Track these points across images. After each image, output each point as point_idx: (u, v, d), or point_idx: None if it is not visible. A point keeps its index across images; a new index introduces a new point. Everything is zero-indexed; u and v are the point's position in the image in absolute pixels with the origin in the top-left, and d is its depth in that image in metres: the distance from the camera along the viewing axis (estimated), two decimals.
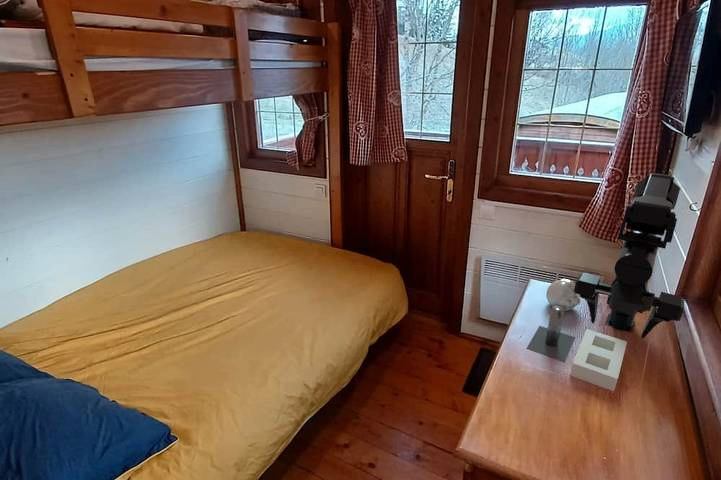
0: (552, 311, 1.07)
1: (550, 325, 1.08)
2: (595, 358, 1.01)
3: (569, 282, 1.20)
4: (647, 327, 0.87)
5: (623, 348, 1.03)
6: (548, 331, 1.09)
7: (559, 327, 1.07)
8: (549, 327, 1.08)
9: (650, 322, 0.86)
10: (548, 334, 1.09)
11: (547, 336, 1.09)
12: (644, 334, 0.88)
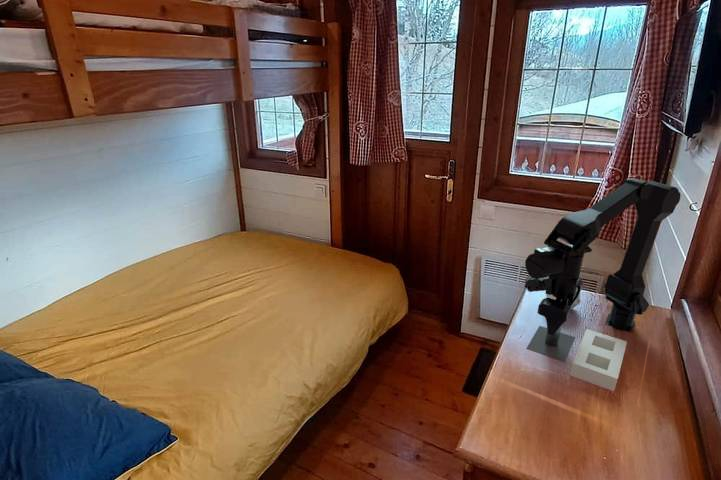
0: None
1: None
2: (595, 358, 1.01)
3: None
4: None
5: (623, 348, 1.03)
6: None
7: None
8: None
9: None
10: (548, 334, 1.09)
11: (547, 336, 1.09)
12: None
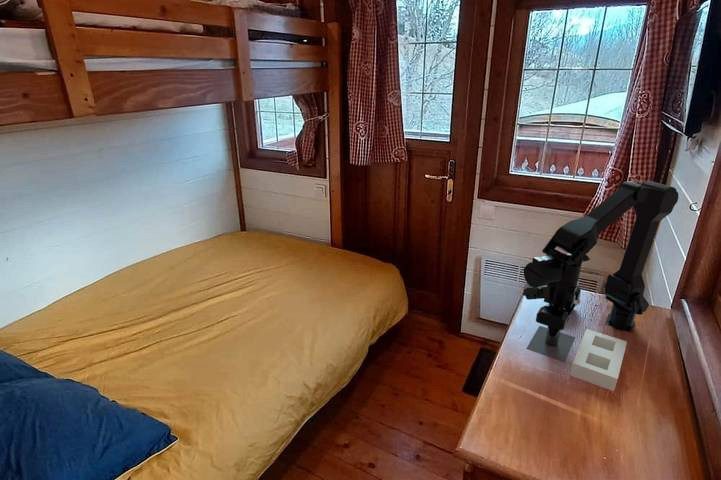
0: None
1: None
2: (595, 358, 1.01)
3: None
4: None
5: (623, 348, 1.03)
6: (548, 331, 1.09)
7: None
8: None
9: None
10: (548, 334, 1.09)
11: (547, 336, 1.09)
12: None
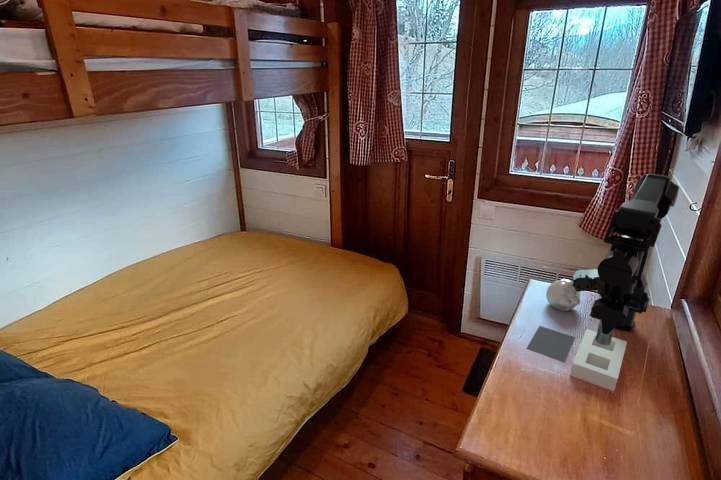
0: None
1: None
2: (595, 358, 1.01)
3: (569, 282, 1.20)
4: None
5: (623, 348, 1.03)
6: (600, 328, 0.95)
7: None
8: (601, 323, 0.94)
9: None
10: (600, 331, 0.95)
11: (599, 333, 0.96)
12: (602, 329, 0.94)
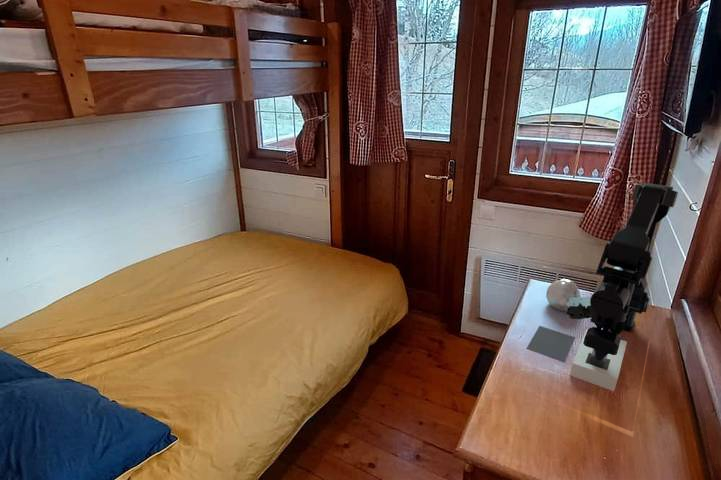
0: None
1: None
2: None
3: (569, 282, 1.20)
4: None
5: (623, 348, 1.03)
6: (593, 354, 0.98)
7: None
8: None
9: None
10: (593, 357, 0.98)
11: (592, 359, 0.98)
12: (596, 355, 0.97)
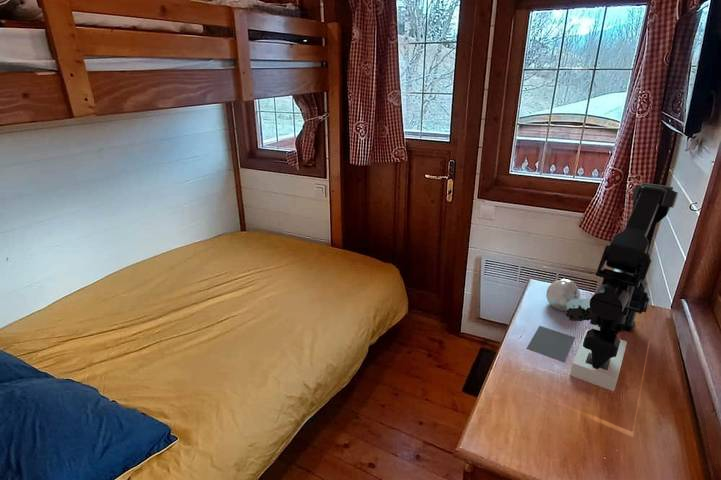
0: None
1: None
2: None
3: (569, 282, 1.20)
4: None
5: (623, 348, 1.03)
6: (591, 362, 0.99)
7: None
8: None
9: None
10: None
11: None
12: None
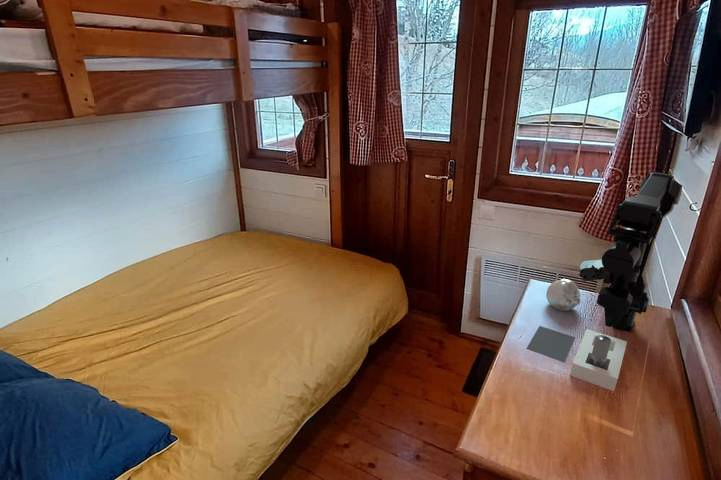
0: (597, 341, 0.97)
1: (594, 356, 0.98)
2: None
3: (569, 282, 1.20)
4: None
5: (623, 348, 1.03)
6: (591, 362, 0.99)
7: (604, 359, 0.97)
8: (592, 358, 0.98)
9: None
10: None
11: None
12: (606, 321, 0.98)
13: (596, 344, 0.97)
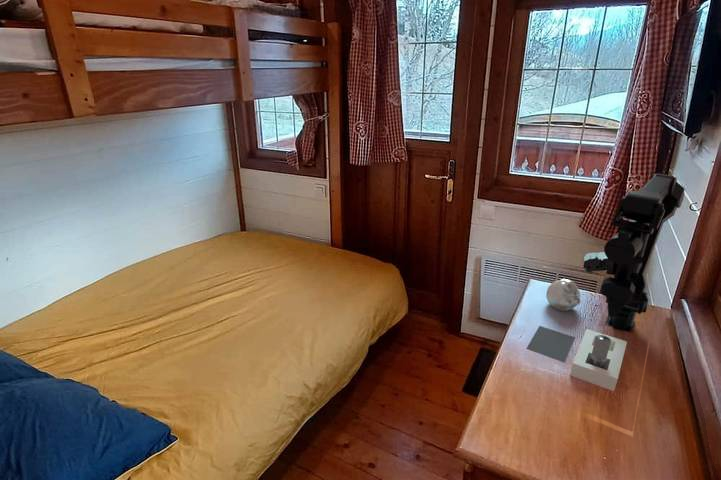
0: (596, 341, 0.97)
1: (594, 356, 0.98)
2: None
3: (569, 282, 1.20)
4: (608, 303, 1.00)
5: (623, 348, 1.03)
6: (591, 362, 0.99)
7: (604, 359, 0.97)
8: (592, 358, 0.98)
9: None
10: None
11: None
12: (608, 312, 1.01)
13: (596, 344, 0.97)
